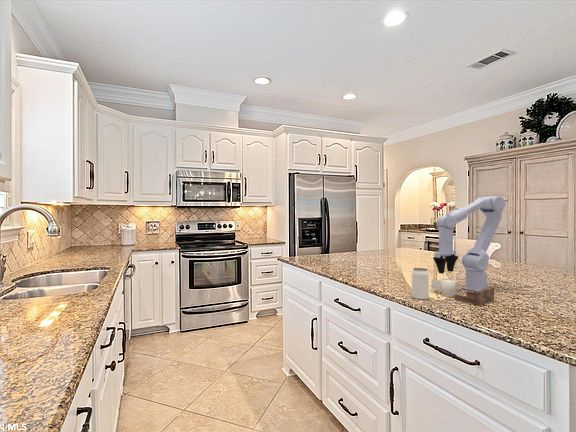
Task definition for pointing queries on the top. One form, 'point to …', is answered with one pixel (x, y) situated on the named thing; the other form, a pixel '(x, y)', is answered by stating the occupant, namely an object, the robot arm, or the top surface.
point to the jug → (446, 286)
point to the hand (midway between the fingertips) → (445, 272)
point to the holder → (477, 296)
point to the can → (420, 283)
